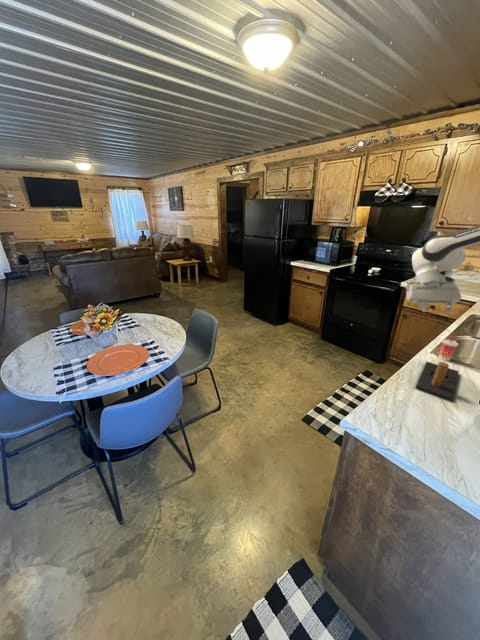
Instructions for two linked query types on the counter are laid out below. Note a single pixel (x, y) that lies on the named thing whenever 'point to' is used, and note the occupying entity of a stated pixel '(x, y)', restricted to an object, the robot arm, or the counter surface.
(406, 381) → the counter surface
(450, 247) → the robot arm
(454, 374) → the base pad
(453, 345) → the beverage cup
